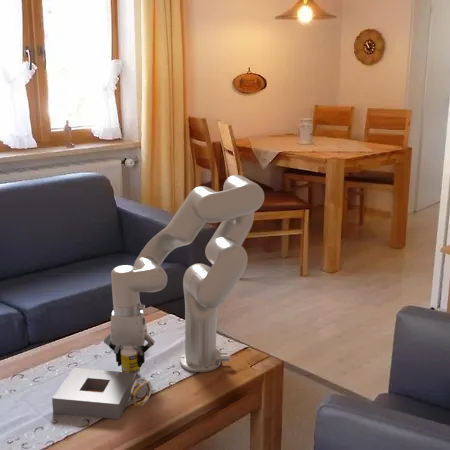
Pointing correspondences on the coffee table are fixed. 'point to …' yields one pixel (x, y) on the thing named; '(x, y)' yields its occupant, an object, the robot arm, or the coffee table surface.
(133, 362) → the supplement bottle
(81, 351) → the coffee table surface
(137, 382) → the ring
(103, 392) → the socket block
